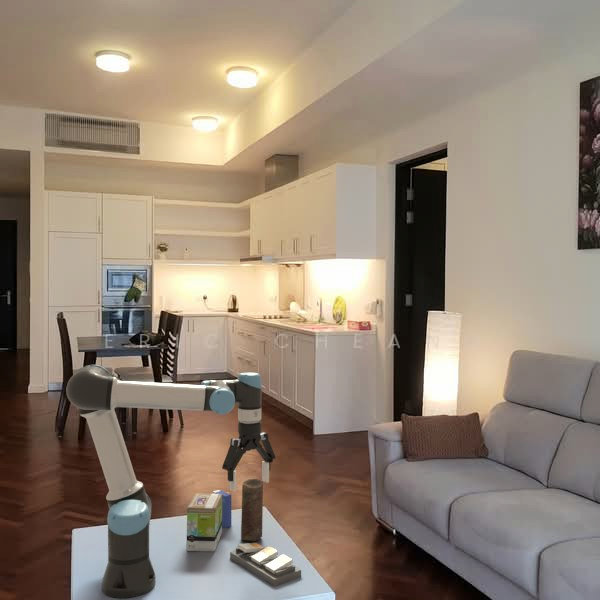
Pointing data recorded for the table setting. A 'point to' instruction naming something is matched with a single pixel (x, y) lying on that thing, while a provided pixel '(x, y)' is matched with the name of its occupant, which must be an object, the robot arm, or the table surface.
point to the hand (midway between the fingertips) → (249, 486)
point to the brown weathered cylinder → (252, 510)
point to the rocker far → (250, 547)
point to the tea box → (204, 522)
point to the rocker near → (278, 563)
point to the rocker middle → (264, 555)
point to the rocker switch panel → (261, 571)
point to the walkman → (225, 508)
